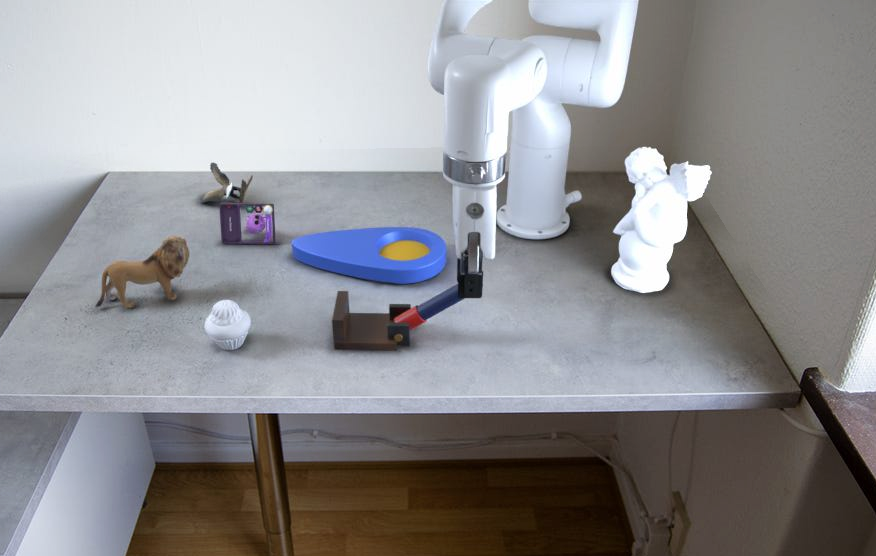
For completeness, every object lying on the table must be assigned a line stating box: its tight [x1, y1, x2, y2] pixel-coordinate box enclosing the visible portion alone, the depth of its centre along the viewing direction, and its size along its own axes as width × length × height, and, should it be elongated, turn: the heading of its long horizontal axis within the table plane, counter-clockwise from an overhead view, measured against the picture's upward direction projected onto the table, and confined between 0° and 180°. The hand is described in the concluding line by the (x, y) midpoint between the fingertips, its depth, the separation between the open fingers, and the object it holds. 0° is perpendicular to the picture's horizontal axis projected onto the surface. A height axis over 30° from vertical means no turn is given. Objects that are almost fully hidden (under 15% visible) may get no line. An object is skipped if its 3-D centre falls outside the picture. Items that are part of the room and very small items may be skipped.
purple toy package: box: [218, 202, 277, 245], centre depth 129 cm, size 7×5×9 cm
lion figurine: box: [95, 235, 190, 309], centre depth 113 cm, size 15×5×9 cm, turn 116°
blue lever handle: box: [394, 283, 466, 331], centre depth 105 cm, size 14×3×3 cm
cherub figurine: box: [610, 146, 713, 294], centre depth 113 cm, size 12×12×22 cm
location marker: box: [291, 226, 447, 285], centre depth 123 cm, size 13×3×25 cm
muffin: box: [204, 299, 252, 351], centre depth 105 cm, size 6×6×7 cm
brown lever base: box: [331, 290, 412, 351], centre depth 107 cm, size 10×7×5 cm
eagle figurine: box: [199, 162, 254, 204], centre depth 139 cm, size 8×7×9 cm
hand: (469, 288), depth 103 cm, fingers closed on blue lever handle, 2 cm apart
